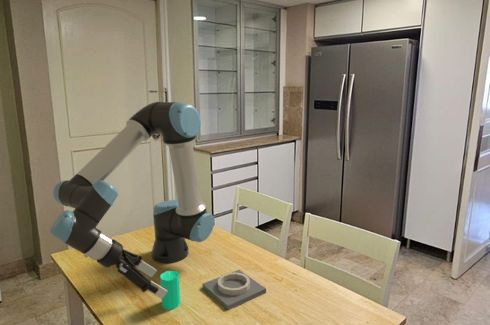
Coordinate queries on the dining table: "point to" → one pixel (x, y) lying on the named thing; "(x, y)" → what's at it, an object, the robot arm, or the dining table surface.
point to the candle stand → (233, 289)
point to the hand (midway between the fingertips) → (159, 283)
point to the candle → (170, 289)
